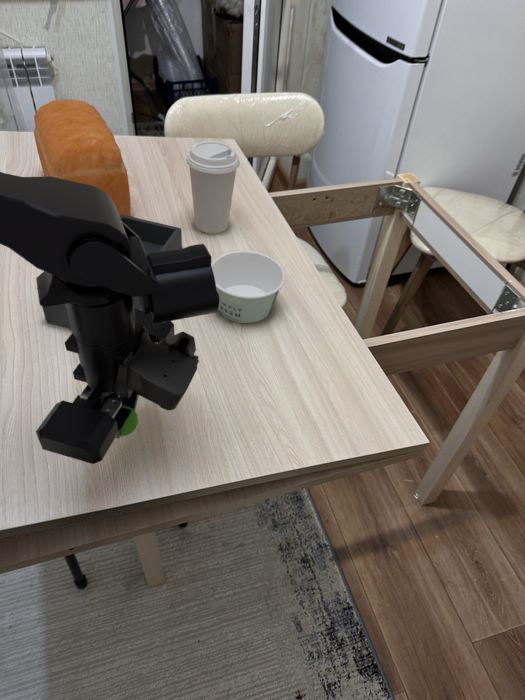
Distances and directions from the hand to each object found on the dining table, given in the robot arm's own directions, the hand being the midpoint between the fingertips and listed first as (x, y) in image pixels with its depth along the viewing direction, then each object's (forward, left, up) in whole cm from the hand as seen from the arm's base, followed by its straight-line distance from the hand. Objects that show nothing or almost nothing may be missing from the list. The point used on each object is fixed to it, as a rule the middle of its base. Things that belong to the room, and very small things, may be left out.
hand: (122, 424), depth 56 cm
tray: (-15, +29, -5) cm, 33 cm away
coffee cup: (-7, +52, -5) cm, 53 cm away
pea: (0, 0, -1) cm, 1 cm away
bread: (-34, +52, -5) cm, 63 cm away
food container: (+6, +31, -5) cm, 32 cm away
